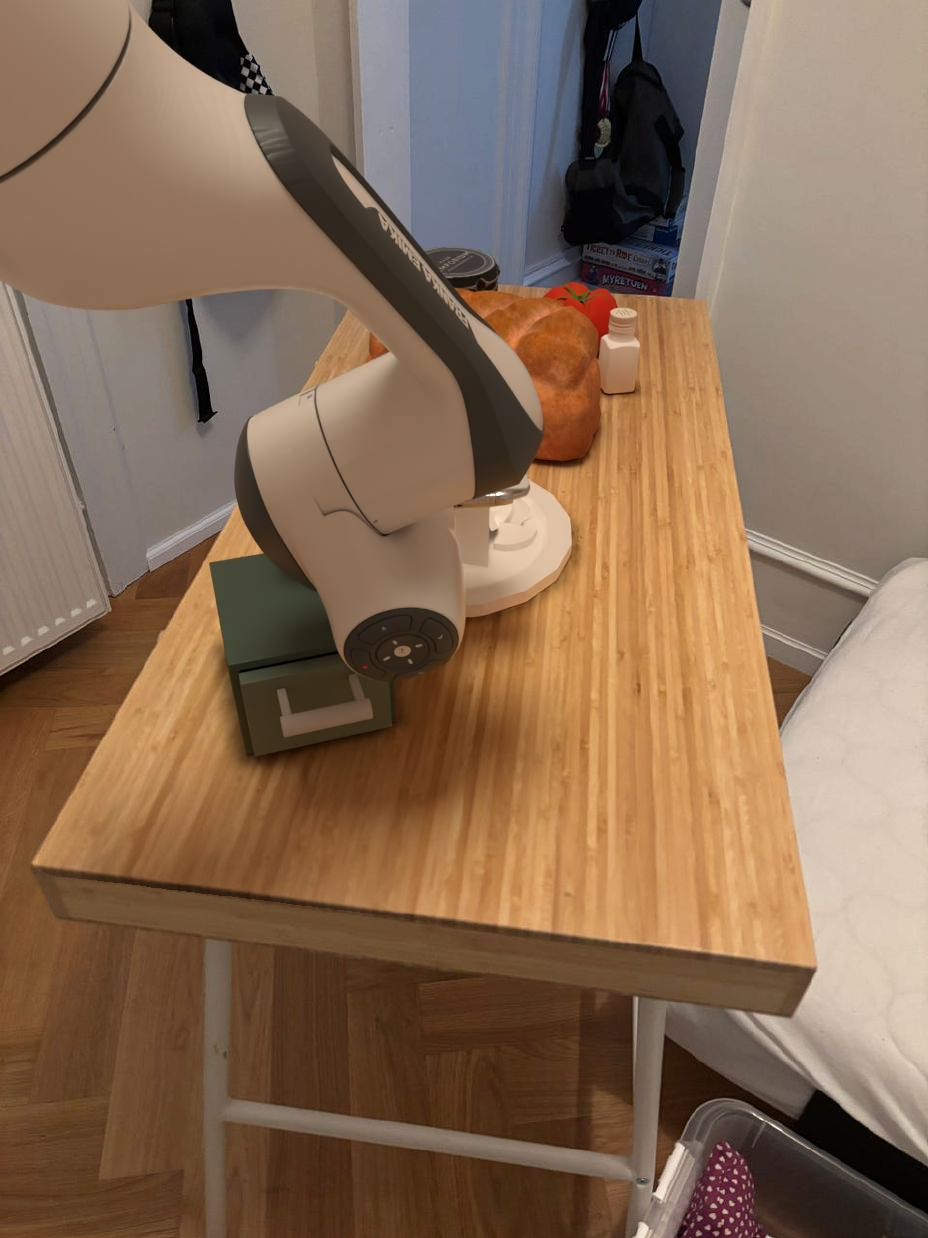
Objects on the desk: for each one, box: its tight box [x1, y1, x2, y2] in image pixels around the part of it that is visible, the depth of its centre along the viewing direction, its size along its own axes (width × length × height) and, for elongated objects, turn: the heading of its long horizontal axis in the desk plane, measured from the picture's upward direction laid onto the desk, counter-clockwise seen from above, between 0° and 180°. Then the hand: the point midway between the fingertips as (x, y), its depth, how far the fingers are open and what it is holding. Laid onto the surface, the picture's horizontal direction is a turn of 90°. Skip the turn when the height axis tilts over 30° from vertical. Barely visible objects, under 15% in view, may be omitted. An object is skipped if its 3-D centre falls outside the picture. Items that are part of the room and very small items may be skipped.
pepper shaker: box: [598, 307, 641, 395], centre depth 113 cm, size 4×4×10 cm
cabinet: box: [208, 552, 397, 756], centre depth 72 cm, size 12×11×9 cm
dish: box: [454, 478, 573, 618], centre depth 87 cm, size 25×25×11 cm
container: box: [423, 246, 502, 292], centre depth 126 cm, size 13×13×10 cm
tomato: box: [542, 281, 619, 351], centre depth 124 cm, size 11×11×8 cm
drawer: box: [238, 651, 393, 757], centre depth 69 cm, size 16×10×7 cm, turn 18°
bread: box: [365, 288, 602, 462], centre depth 103 cm, size 14×26×16 cm, turn 74°
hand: (385, 417), depth 78 cm, fingers open, 7 cm apart
